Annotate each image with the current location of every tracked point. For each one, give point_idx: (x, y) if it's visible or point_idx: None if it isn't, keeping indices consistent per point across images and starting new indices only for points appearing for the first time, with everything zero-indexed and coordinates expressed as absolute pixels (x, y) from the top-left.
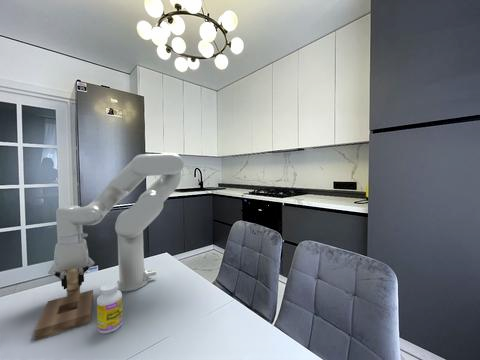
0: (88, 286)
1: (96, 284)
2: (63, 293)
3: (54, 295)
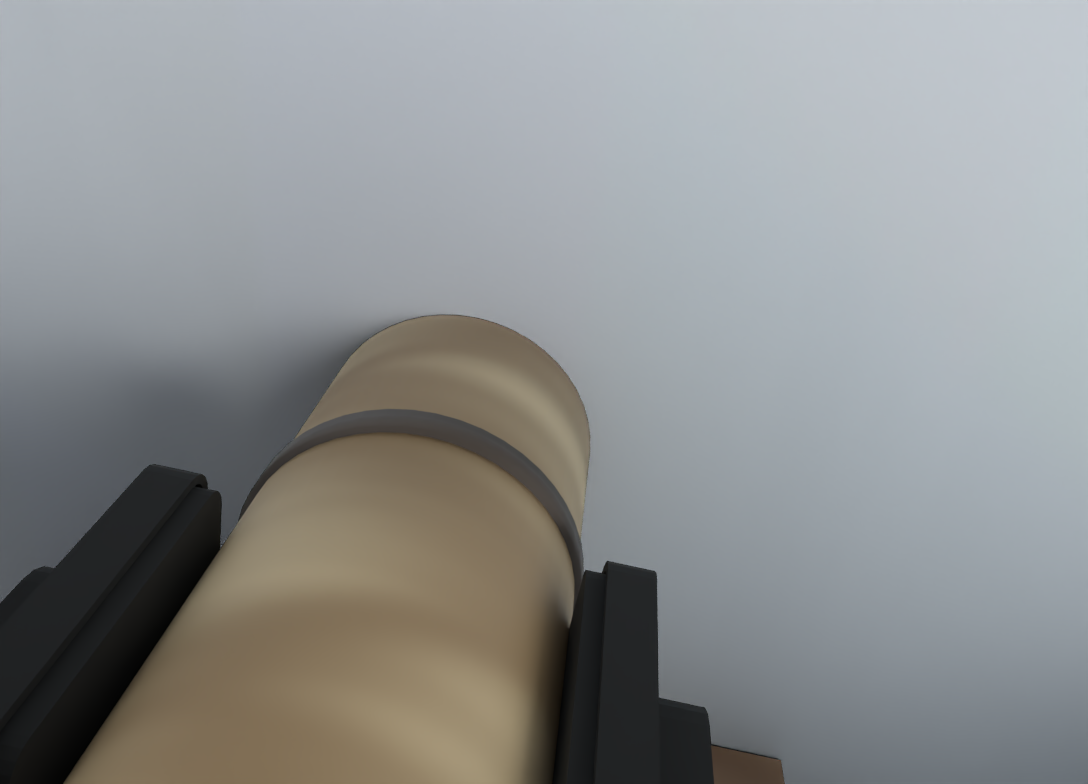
0: (854, 130)
1: (1075, 172)
2: (221, 66)
3: (11, 8)
